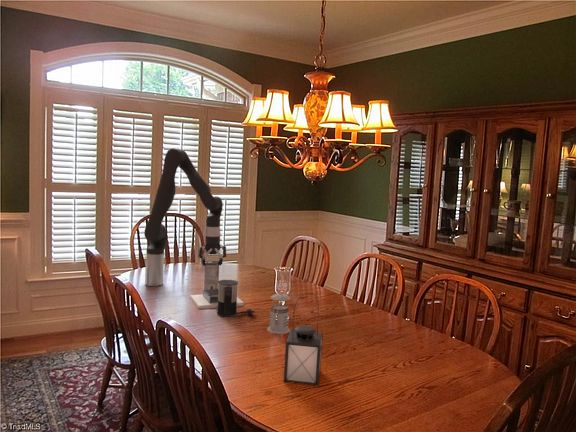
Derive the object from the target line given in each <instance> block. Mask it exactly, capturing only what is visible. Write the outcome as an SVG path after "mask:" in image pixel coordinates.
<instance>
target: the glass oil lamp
mask: <svg viewBox="0 0 576 432" xmlns="http://www.w3.org/2000/svg"><path fill="white" fill-rule="evenodd" d="M279 274H280V275H284V274H285V271H284V270H280V272H279ZM280 279H281V281H280V282H281V283H280V288H282V283H283V282H282V281H283V277H281V278H280ZM270 299H271V300H272V301H275V302H279V304H277V303H274V305H271V309H270V314H269V315H270V316H269V326H268V327H267V328H266V330H267V331H268V332H270V333H272V334H275V335H276V334H278V335H283V334H284V335H285V334H289V332H290V330H291V328H289V321H290V320H289V318H290V316H289V315H290V310H289V308H290V307H289V306H288V305H286V304H285V305H284V304H281V302H286V301H287V302H288V301H290V300H291V297H290V296H289V295H287V294H286V293H282V292H280V293H274V294H273V295H271V296H270Z"/></svg>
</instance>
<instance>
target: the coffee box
mask: <svg viewBox="0 0 576 432" xmlns="http://www.w3.org/2000/svg"><path fill="white" fill-rule="evenodd" d="M203 275H204V279H203V290H209V289H218V286H219V283H218V281H220V280H219V279H220V277H219V276H220V265H219V260H207V261H205V266H204V274H203Z"/></svg>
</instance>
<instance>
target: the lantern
mask: <svg viewBox="0 0 576 432" xmlns="http://www.w3.org/2000/svg"><path fill="white" fill-rule="evenodd" d="M307 294H311V295H313V296H314V297H315V298H316V301H317V303H319V301H318V298H317V295H315V294H314V293H312V292H306V293H303V294H301V295H300V296H299V298H298V299H297V300H296V302H295V304H294V307H293V314H292V325H295V324H294V321H295V319H294V318H295V309H296V305H297V303H298V301H299V299H301V297H303V296H304V295H307ZM319 308H320V307H319V304H317V316H319ZM316 325H317V326H316V329H315V328H314V327H312V326H310V325H299V326H296V327H295V328H294V329H290V332H288V337H287V340H285V351H284V353H285V354H284V367H283V368H284V370H283V371H284V372H283V383H285V382H286V383H288V382H294V383H293V384H297V383H304V384H303V385H306V384H314V385H313V386H315V385H318V386H319V384H320V383H319V382H320V374H321V368H322V367H321V366H322V365H321V363H322V348H323V336H324V334H323V332H319V329H318V328H319V322H317V324H316Z"/></svg>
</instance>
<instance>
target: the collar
mask: <svg viewBox="0 0 576 432" xmlns="http://www.w3.org/2000/svg"><path fill="white" fill-rule="evenodd" d="M202 294H203V297H204V298H205V299H206V300H207V301H208V302H209V303H218V296H215V295H218V289H209V290H204V289H202ZM211 296H213V297H211Z"/></svg>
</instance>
